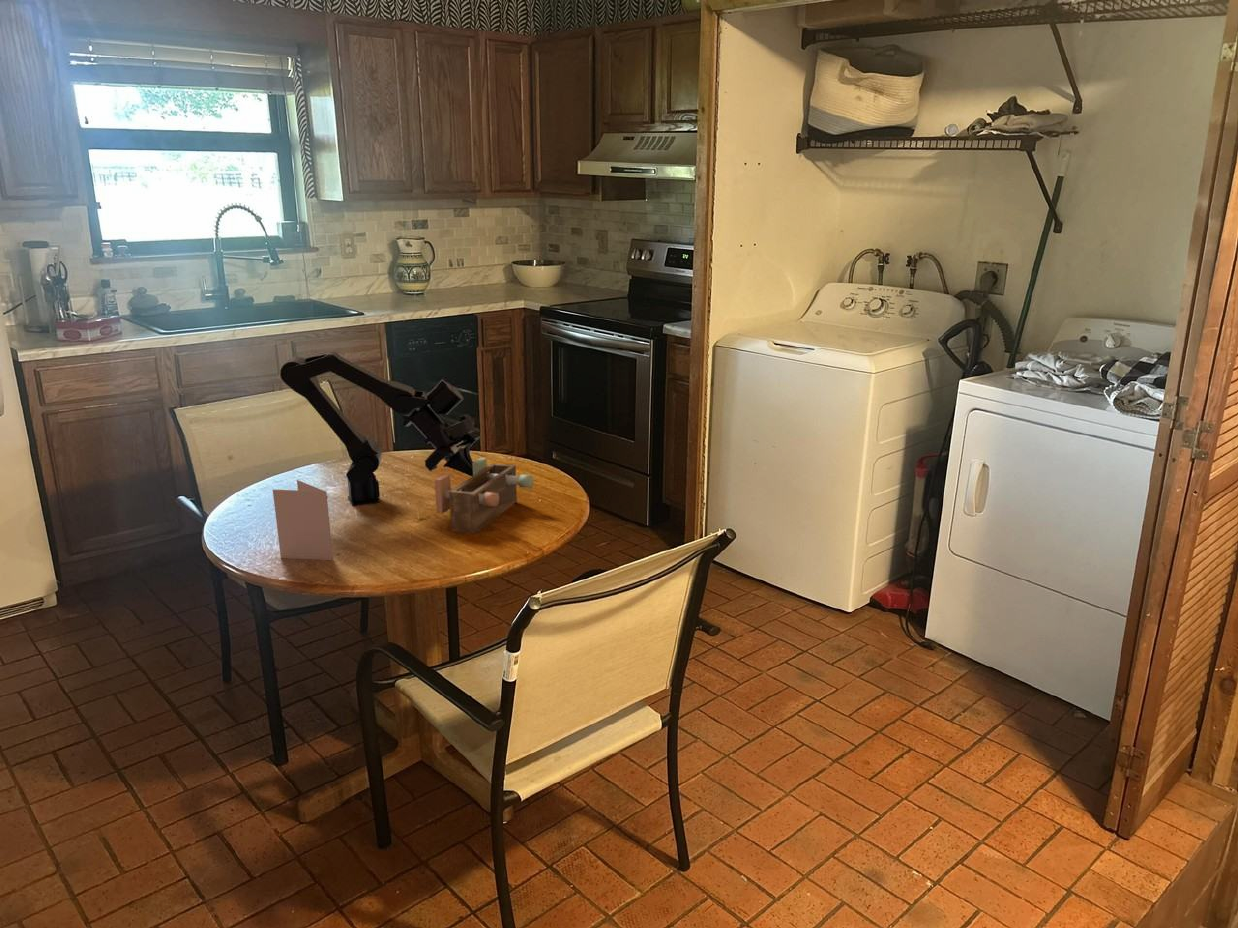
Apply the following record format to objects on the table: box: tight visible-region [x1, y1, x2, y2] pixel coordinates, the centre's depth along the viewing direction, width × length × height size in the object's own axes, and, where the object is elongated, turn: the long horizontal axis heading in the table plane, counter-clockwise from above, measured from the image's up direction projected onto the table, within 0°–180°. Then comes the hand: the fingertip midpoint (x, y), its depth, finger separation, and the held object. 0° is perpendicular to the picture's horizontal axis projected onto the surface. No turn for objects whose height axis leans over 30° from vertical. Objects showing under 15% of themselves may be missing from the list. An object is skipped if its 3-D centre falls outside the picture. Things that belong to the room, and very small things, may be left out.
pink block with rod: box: [434, 473, 499, 515], centre depth 206 cm, size 14×4×8 cm, turn 72°
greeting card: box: [272, 479, 334, 561], centre depth 189 cm, size 11×7×15 cm, turn 48°
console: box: [449, 463, 518, 534], centre depth 213 cm, size 6×22×9 cm, turn 162°
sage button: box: [472, 457, 534, 489], centre depth 218 cm, size 14×4×8 cm, turn 71°
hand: (476, 475), depth 221 cm, fingers closed, pressing on sage button
